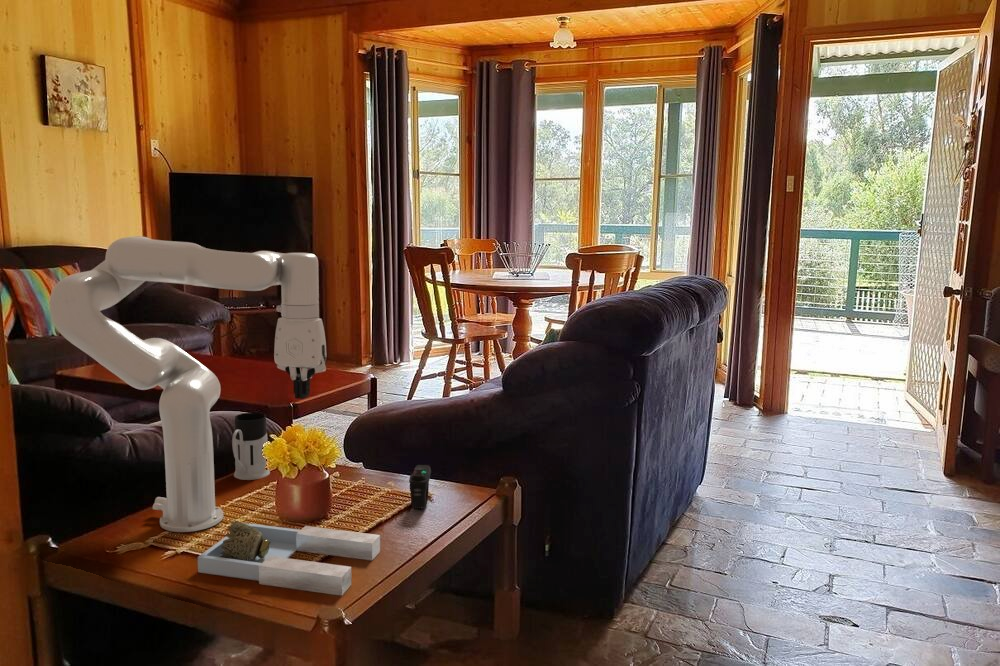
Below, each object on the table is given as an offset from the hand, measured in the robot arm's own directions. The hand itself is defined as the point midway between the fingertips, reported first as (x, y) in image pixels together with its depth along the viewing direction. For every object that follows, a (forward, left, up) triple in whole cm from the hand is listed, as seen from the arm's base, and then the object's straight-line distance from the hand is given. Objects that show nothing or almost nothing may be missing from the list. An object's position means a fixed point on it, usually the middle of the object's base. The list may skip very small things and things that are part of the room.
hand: (301, 397), depth 161 cm
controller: (+22, +14, -27) cm, 38 cm away
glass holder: (-25, +19, -27) cm, 42 cm away
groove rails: (+14, -20, -27) cm, 36 cm away
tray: (0, -20, -27) cm, 34 cm away
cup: (+3, -20, -25) cm, 32 cm away
